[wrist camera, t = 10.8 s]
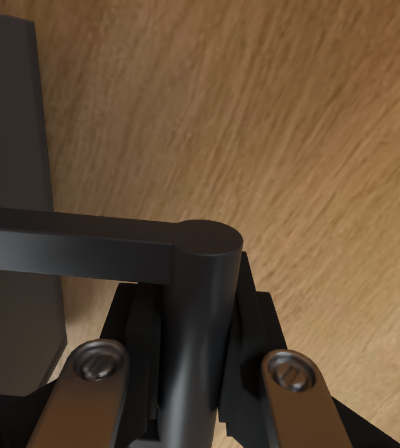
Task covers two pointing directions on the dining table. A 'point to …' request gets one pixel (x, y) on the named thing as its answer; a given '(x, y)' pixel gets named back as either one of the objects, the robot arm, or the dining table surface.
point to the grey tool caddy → (102, 268)
